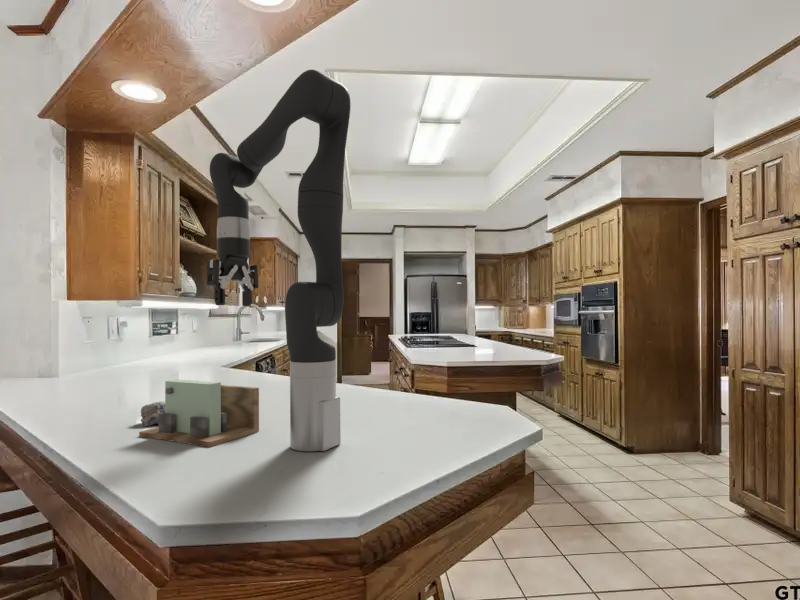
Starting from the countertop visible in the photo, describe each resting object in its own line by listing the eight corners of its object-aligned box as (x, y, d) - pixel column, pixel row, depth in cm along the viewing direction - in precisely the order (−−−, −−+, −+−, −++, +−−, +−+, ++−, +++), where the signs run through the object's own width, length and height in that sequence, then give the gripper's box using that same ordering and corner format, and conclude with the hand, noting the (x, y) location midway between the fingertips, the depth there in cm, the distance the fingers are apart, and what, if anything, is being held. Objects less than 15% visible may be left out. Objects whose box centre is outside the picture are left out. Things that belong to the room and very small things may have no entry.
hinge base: (259, 431, 107) (258, 387, 108) (210, 447, 95) (210, 397, 95) (191, 423, 117) (191, 382, 117) (139, 436, 104) (139, 391, 105)
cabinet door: (220, 432, 102) (220, 382, 103) (206, 437, 99) (206, 384, 99) (176, 427, 108) (176, 379, 109) (161, 430, 105) (161, 381, 105)
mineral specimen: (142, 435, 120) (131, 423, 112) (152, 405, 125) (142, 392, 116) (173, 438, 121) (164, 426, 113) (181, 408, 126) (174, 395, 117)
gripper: (222, 232, 104) (223, 304, 103) (265, 241, 117) (266, 305, 116) (198, 235, 107) (198, 305, 107) (243, 243, 120) (243, 306, 119)
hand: (234, 305), depth 111 cm, fingers open, 8 cm apart
